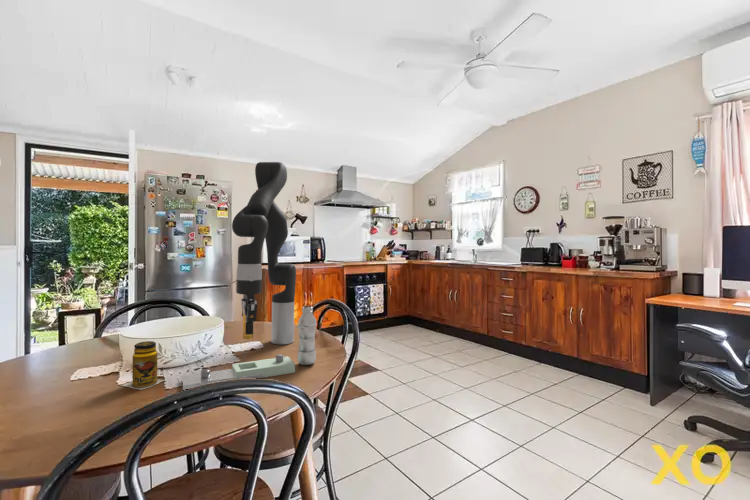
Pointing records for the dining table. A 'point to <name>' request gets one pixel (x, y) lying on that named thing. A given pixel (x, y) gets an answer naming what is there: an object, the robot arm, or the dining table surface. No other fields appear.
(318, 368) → the dining table surface
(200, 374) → the lower chain end
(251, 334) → the pin
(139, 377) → the condiment
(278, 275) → the robot arm
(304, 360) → the plastic bottle
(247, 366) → the block
